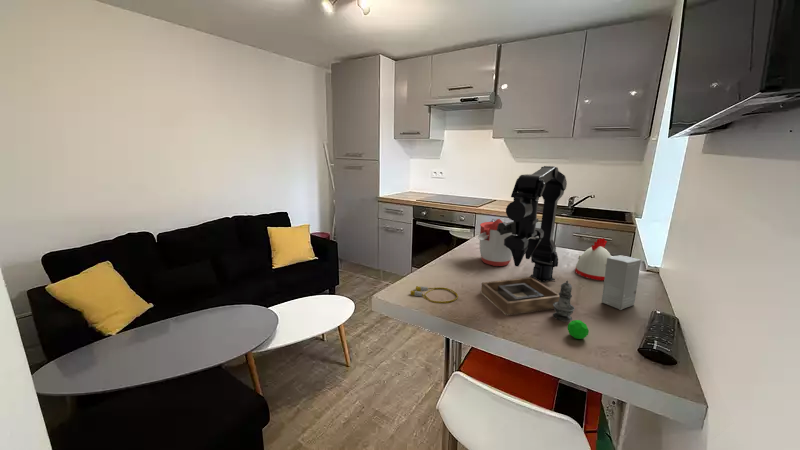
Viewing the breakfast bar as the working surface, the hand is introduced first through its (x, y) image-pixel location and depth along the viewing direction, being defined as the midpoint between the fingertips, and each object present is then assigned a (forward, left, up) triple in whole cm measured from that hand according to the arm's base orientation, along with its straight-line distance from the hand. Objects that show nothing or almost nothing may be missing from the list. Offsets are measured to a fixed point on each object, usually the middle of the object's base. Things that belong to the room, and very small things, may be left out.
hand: (522, 262), depth 104 cm
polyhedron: (-3, +22, -14) cm, 27 cm away
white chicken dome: (-45, -14, -14) cm, 49 cm away
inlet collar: (-1, -1, -14) cm, 14 cm away
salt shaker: (-7, +12, -14) cm, 20 cm away
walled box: (-1, -1, -14) cm, 14 cm away
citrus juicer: (-12, -36, -14) cm, 40 cm away
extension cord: (+25, -12, -14) cm, 31 cm away
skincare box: (-31, +9, -14) cm, 35 cm away
